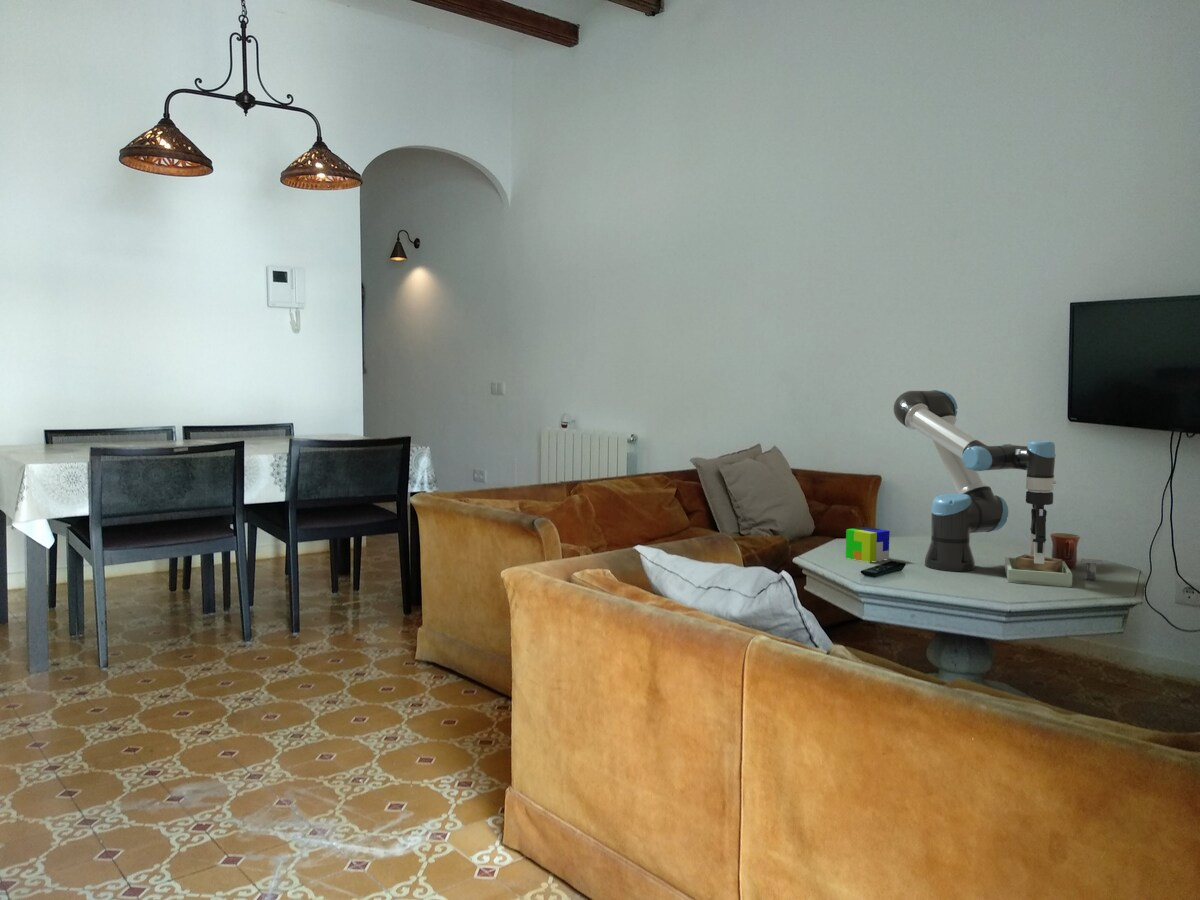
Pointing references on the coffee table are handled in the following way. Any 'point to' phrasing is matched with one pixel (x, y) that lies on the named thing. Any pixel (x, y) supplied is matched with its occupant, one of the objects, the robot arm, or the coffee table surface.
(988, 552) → the coffee table surface
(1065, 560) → the mug
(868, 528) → the puzzle toy
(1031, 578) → the tray
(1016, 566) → the light brown wooden box
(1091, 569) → the stake
